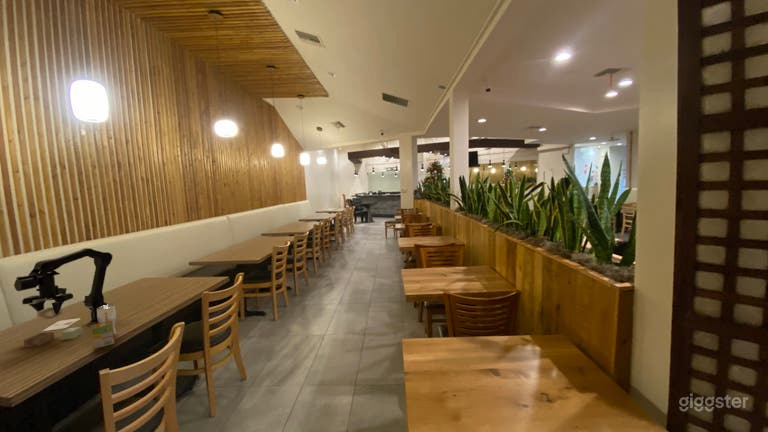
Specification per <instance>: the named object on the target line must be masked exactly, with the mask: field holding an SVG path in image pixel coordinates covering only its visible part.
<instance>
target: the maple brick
mask: <svg viewBox="0 0 768 432" xmlns="http://www.w3.org/2000/svg"><path fill="white" fill-rule="evenodd" d="M36 315H37V320H40V321H41V320H50V319H55V318H57V317H59V316H61V315H63V308H62V307H61V308H60V311H59V314H57V315H56V314H55V312H54V309H53V306H52V307H46V308H44V309H43V310H41V311H38V312H37V311H36Z"/></svg>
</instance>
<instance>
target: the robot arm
mask: <svg viewBox="0 0 768 432" xmlns="http://www.w3.org/2000/svg"><path fill="white" fill-rule="evenodd" d="M85 257H89V258H90V259H93V264H94V266H95V270H94V273H93V274H94V275H93V280H92V284H91V290H90V292H89V294H88V295H84V301H83V302H82V303H83V304H84V306H85V307H86V308H88V309H89V311H91V312H90V318H91V320H90V321H89V322H90V323H95V322H98V318H97V308H98V307H101V306H104V305H110V304H109V303H107V302H105V296H104V294H103V289H104V284H105V280H106V274H107V268H108V267H109V266H110V264H111V263H112V260H113V254H112V253H111V252H106V251H105V252H104V251H99V250H96V249H93V248H89V247H88V248H87V247H86V248H82V249H80V250H78V251H74V252H72V253H69V254H66V255H62V256H60V257H59V256H58V257H57V258H50V259H44V260H40V261H37V262H36V263H35V264H34V266H33V269H32V270H31V271H30V272H29V273H28V275H24V276H16V277H15V279H16V280H14V284H13V286H14V289H15V290H16V292H21V291H26V290H31V289H35V290H36V292H38V295H36V294H35V295H30V296H28V297H24V298H23V299H22V300H21V301H22V305H28V306H30V307H31V308H32V309H34V310H35V311H36V313H37V312H38V311H41V310H43V309H45V302H46V301H54V302H52V303H51V306H52V307H53V309H54V312H55V314H56V315H57V314H59V311H60V308H62V305H63V304H64V303H65V302H67V301H69V300H71V299H74V294H73V293H71V292H70V293H67V288H65V287H59V286H58V285H56V281H55V280H56V279H55V278H56V277H55V276H57V275H59V276H60V274H61V273H60V272H58V271H57V270H58V269H60V268H61V267H62V266H64V265H67V264H69V263H72V262H74V261H77V260H81V259H83V258H85ZM37 287H38V288H37Z"/></svg>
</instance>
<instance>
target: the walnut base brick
mask: <svg viewBox="0 0 768 432" xmlns="http://www.w3.org/2000/svg"><path fill="white" fill-rule="evenodd" d="M55 339H56V338H55V332H52V331H47V332H38V333H36V334H34V335H31V336H29V337H26V338H25V339H23V345H24V348H34V347H43V346H44V345H45V344H48V343H49V342H52V341H54V340H55Z"/></svg>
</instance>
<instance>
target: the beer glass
mask: <svg viewBox="0 0 768 432" xmlns="http://www.w3.org/2000/svg"><path fill="white" fill-rule="evenodd" d="M116 317H117V312H116V307H115V304H109V305H104V306H101V307H98V308H97V318H98V321H97V322H98V324H99V323H103V322H108V321H112V323H113V330H114V336H115V335H116V334H117V333H118V332H117V330H116ZM105 324H106V323H105ZM105 324H100V325H105ZM100 325H99V326H100Z"/></svg>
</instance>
